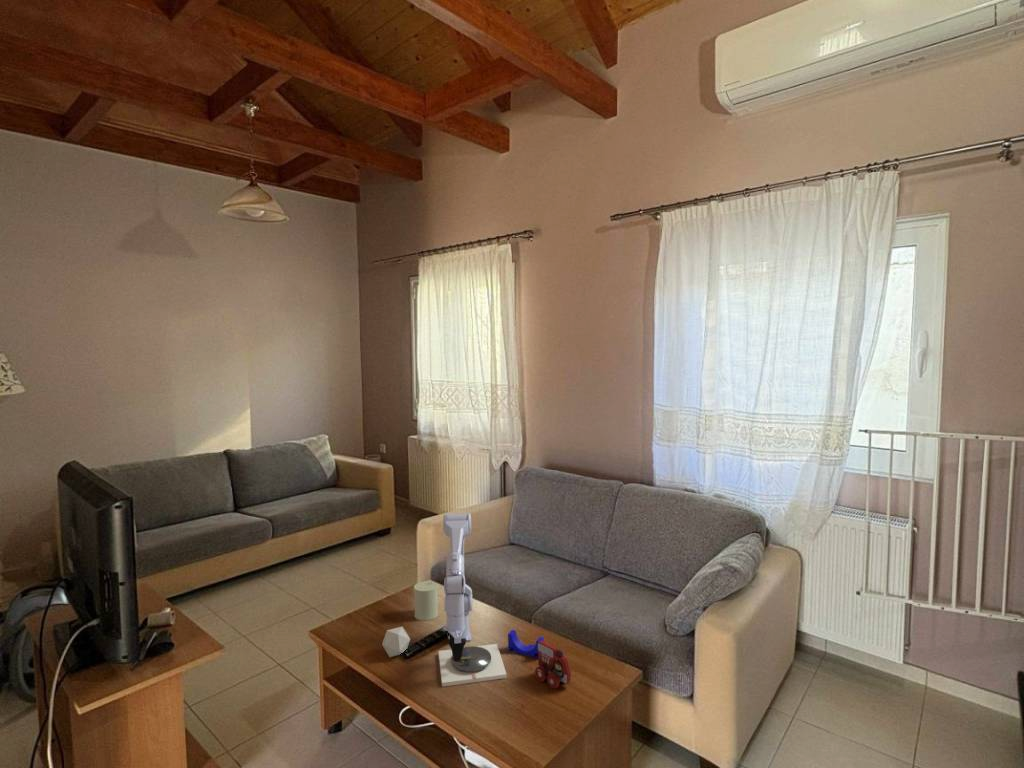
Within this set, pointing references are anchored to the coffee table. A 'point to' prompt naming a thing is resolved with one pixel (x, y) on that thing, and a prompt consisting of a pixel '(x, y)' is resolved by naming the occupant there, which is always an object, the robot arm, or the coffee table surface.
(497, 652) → the wheel base
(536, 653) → the cable clip
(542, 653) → the toy fire truck
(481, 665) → the handwheel
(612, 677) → the coffee table surface
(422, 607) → the can
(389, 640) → the die
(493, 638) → the coffee table surface
